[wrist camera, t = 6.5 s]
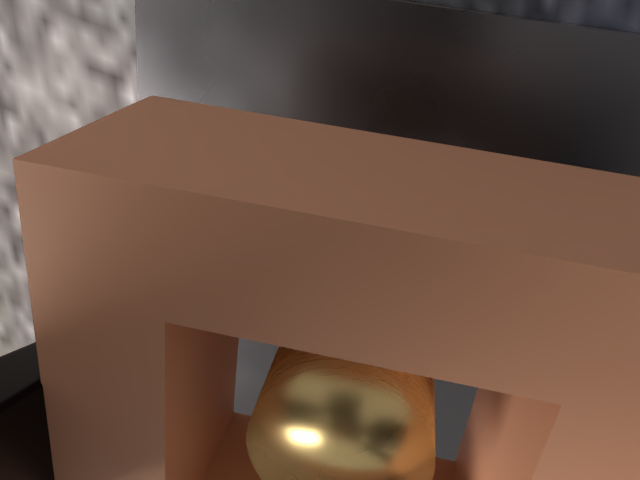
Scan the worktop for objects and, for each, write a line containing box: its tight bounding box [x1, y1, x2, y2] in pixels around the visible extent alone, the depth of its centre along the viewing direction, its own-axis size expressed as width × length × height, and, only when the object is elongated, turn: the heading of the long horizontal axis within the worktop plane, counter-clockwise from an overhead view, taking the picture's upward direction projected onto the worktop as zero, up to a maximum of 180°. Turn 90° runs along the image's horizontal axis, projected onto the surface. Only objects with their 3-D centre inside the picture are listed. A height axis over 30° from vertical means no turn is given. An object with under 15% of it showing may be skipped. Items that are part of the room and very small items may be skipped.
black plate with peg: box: [135, 0, 640, 480], centre depth 10 cm, size 10×10×6 cm
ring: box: [13, 95, 640, 480], centre depth 8 cm, size 7×7×3 cm
